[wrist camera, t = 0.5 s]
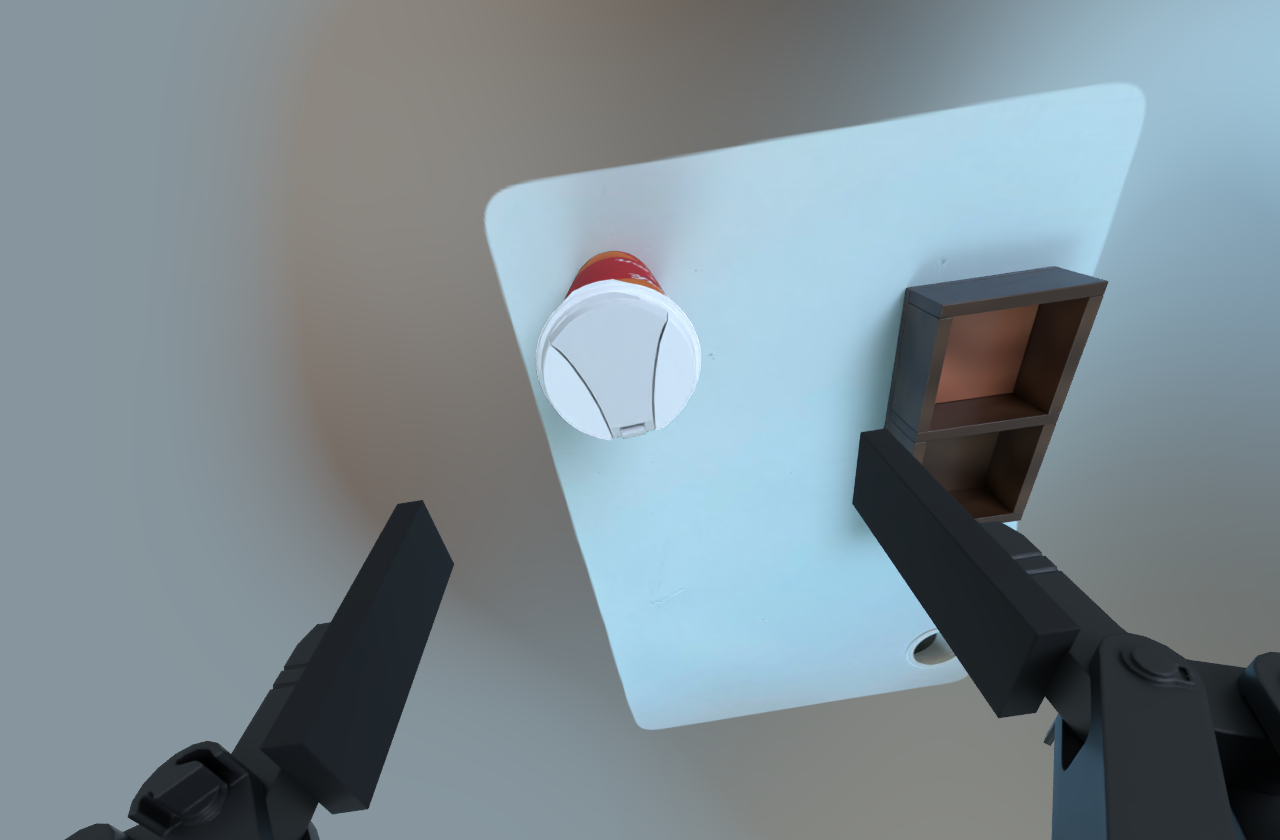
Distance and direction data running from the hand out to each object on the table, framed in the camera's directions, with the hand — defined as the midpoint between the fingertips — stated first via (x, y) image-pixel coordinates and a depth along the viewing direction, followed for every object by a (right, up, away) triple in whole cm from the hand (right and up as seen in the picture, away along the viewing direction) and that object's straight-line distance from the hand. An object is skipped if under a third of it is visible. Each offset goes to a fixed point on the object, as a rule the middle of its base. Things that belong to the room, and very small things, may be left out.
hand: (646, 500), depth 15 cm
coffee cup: (-2, +12, +21) cm, 24 cm away
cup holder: (+27, +4, +28) cm, 39 cm away
